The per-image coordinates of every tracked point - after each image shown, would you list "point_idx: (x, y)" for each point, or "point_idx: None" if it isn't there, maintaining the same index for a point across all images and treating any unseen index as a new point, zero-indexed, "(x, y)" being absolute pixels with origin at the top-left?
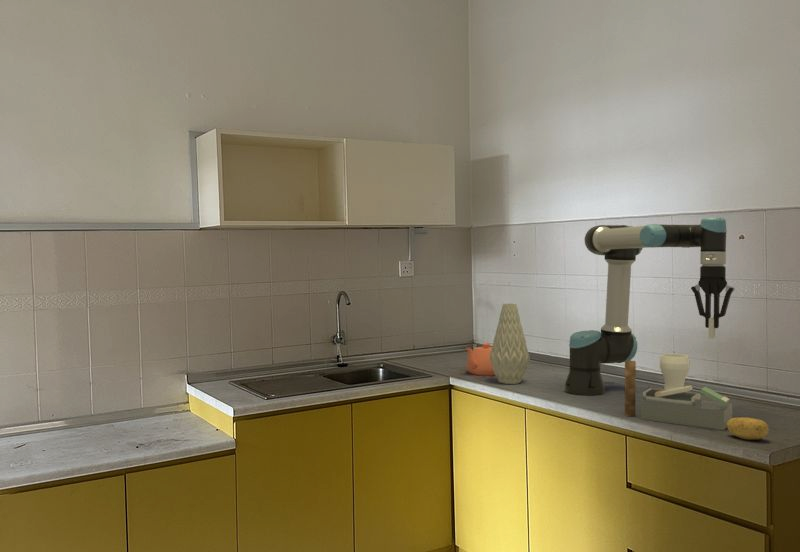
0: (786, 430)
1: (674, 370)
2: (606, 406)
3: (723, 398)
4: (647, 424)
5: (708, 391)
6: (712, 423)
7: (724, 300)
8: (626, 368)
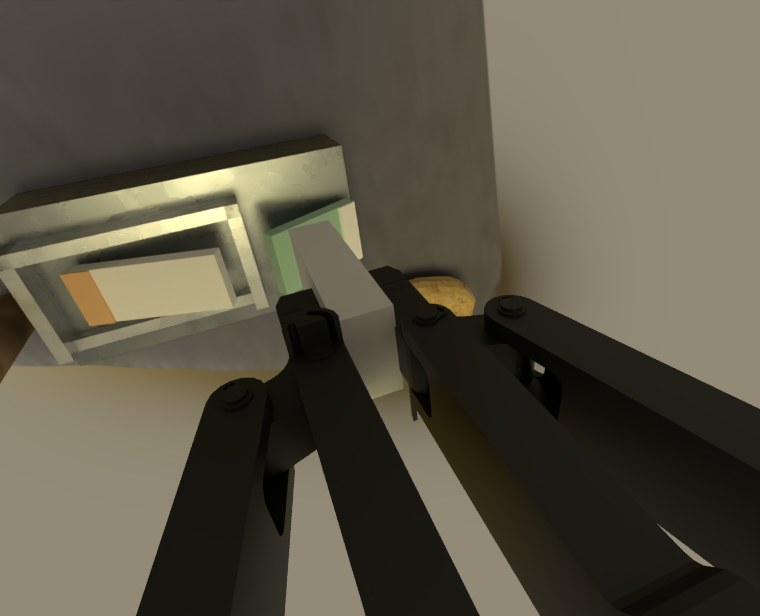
0: (475, 125)
1: None
2: None
3: (348, 242)
4: (160, 361)
5: None
6: None
7: (699, 540)
8: None
